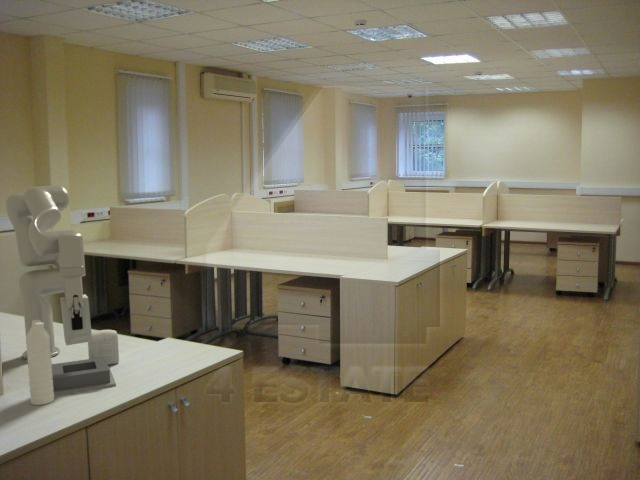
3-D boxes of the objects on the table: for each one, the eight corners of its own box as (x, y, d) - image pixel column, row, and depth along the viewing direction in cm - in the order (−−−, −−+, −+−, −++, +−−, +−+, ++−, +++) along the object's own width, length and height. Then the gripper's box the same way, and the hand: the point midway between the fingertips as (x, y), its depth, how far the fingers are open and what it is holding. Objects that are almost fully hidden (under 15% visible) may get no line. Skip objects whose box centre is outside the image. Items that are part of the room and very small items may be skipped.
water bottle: (29, 400, 197) (22, 319, 193) (52, 395, 200) (46, 316, 197) (34, 409, 189) (27, 326, 186) (57, 404, 193) (51, 322, 190)
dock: (46, 378, 216) (45, 363, 215) (109, 369, 224) (108, 355, 223) (48, 396, 200) (46, 380, 199) (115, 385, 208) (115, 370, 207)
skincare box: (90, 338, 214) (87, 293, 212) (92, 342, 209) (89, 296, 207) (63, 341, 211) (59, 296, 209) (64, 346, 205) (61, 299, 203)
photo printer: (117, 360, 234) (115, 326, 232) (121, 363, 230) (118, 329, 228) (87, 365, 228) (85, 331, 226) (91, 369, 224) (88, 334, 223)
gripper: (58, 268, 213) (63, 322, 215) (61, 277, 197) (65, 335, 200) (83, 266, 216) (87, 319, 218) (87, 274, 200) (91, 331, 203)
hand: (76, 326), depth 209 cm, fingers closed on skincare box, 5 cm apart
